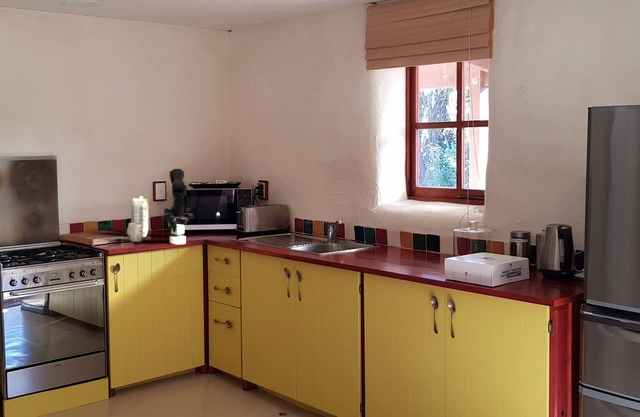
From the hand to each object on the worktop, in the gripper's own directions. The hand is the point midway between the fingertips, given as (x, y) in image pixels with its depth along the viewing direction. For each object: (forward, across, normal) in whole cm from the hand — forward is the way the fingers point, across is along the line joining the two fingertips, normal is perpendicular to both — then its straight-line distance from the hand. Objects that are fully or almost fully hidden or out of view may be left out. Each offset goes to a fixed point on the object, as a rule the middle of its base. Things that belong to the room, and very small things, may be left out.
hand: (177, 231), depth 428 cm
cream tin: (+7, 0, 0) cm, 7 cm away
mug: (+7, +14, -22) cm, 27 cm away
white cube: (+1, 0, 0) cm, 1 cm away
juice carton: (+7, +1, -33) cm, 34 cm away
